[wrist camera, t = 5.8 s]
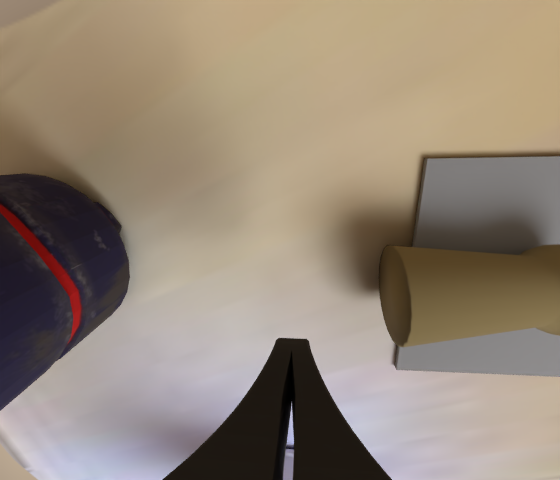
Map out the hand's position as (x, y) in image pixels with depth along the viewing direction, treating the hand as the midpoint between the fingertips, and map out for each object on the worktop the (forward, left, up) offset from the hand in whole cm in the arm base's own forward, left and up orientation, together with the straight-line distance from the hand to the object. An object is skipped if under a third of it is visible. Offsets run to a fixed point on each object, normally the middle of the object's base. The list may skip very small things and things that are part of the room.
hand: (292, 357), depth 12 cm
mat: (0, -14, -8) cm, 16 cm away
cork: (0, -6, -5) cm, 8 cm away
